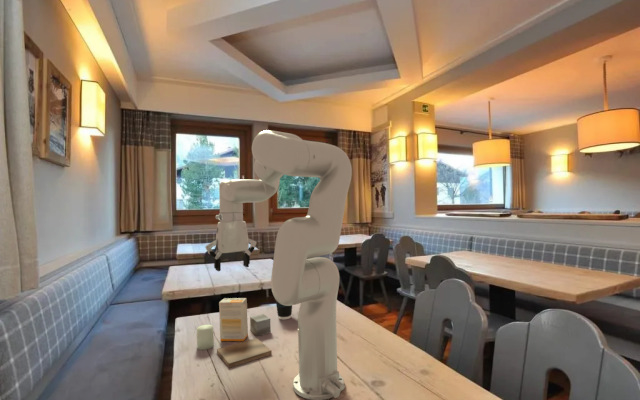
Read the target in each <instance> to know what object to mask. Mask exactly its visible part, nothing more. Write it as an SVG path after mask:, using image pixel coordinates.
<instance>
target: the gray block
mask: <svg viewBox="0 0 640 400" xmlns="http://www.w3.org/2000/svg"><path fill="white" fill-rule="evenodd" d="M249 320H250V321H249V323H250V324H249V326H250V330H249V331H250V332H252V334H254V335H255V336H257V337H259V336H262V335H268V334H270V333H271V318H270V317H269V316H267V315H266V314H264V313H260V314H257V315H252V316H249Z"/></svg>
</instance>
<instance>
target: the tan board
mask: <svg viewBox="0 0 640 400" xmlns="http://www.w3.org/2000/svg"><path fill="white" fill-rule="evenodd" d="M216 354H217V355H218V357H219V358H220V359H221V360H222V361H223V362H224V363H225V365H226V366H227V367H228V368H229V369H230V368H233V367H236V366H239V365H243V364H247V363H248V362H253V361H255V360H259V359H261V358H265V357H268V356H272V354H273V352H272V349H270V348H269V347H268V346H267V345H266V344H265V343H264V342H262V341H261V340H260V339H259V338H258V337H255V338H252V339H248V340H244V341H239V342H237V343H234V344H230V345H227V346H223V347H220V348H217V349H216Z"/></svg>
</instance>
